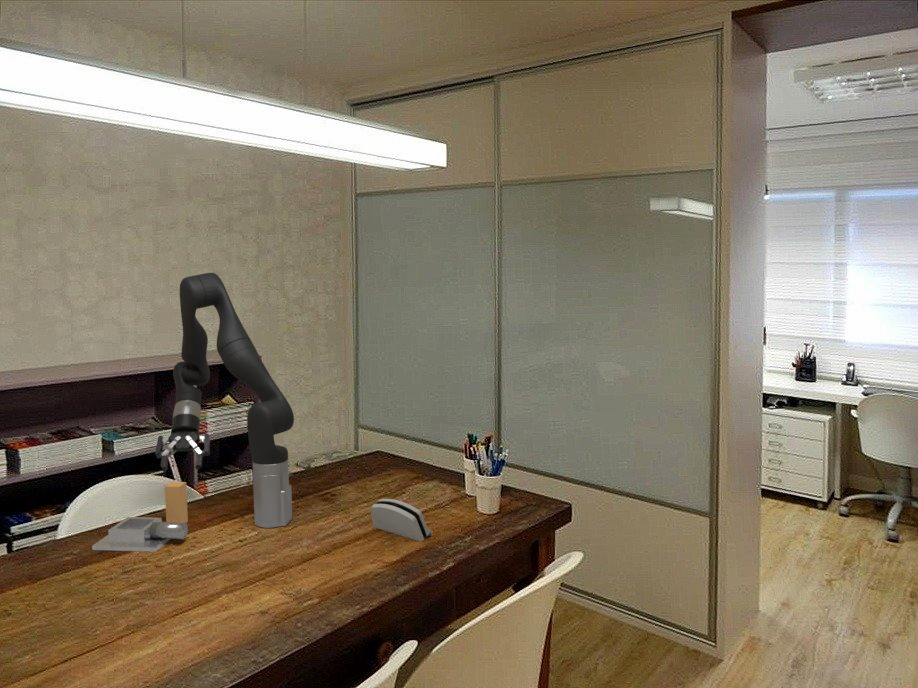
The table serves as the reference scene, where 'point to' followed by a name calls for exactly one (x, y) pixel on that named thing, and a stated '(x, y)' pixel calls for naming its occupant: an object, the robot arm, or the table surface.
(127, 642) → the table surface
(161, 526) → the bracket head
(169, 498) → the upright wooden block
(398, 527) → the grey rounded block
